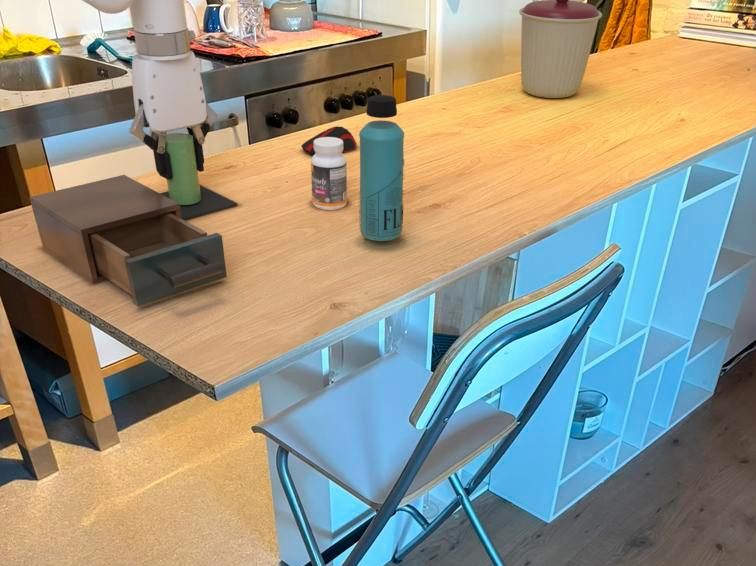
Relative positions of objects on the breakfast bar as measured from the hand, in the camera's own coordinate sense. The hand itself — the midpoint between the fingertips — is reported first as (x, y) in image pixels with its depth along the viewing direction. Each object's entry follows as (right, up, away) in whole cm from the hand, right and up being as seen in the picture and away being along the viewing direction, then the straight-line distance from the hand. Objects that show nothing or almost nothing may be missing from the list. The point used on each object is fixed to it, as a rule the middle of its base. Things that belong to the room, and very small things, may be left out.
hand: (181, 172), depth 129 cm
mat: (0, -4, +3) cm, 5 cm away
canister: (+71, +44, +61) cm, 103 cm away
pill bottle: (+23, -4, +4) cm, 24 cm away
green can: (0, -3, +3) cm, 4 cm away
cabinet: (-7, -17, -11) cm, 21 cm away
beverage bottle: (+32, -14, -7) cm, 35 cm away
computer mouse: (+22, +15, +26) cm, 37 cm away
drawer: (+3, -23, -20) cm, 30 cm away
